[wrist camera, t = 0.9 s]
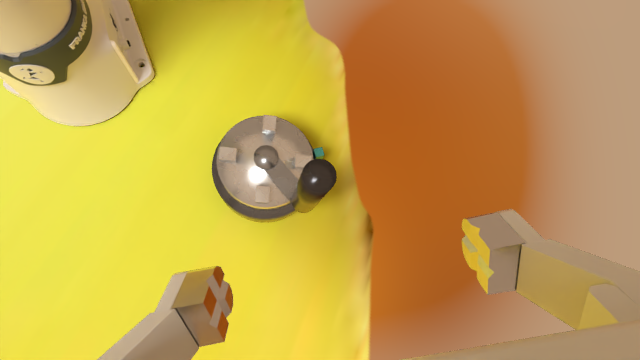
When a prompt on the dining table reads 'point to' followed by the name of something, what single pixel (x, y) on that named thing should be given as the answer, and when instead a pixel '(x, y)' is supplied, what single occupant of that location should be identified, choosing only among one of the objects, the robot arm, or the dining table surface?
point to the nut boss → (251, 213)
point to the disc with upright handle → (272, 166)
